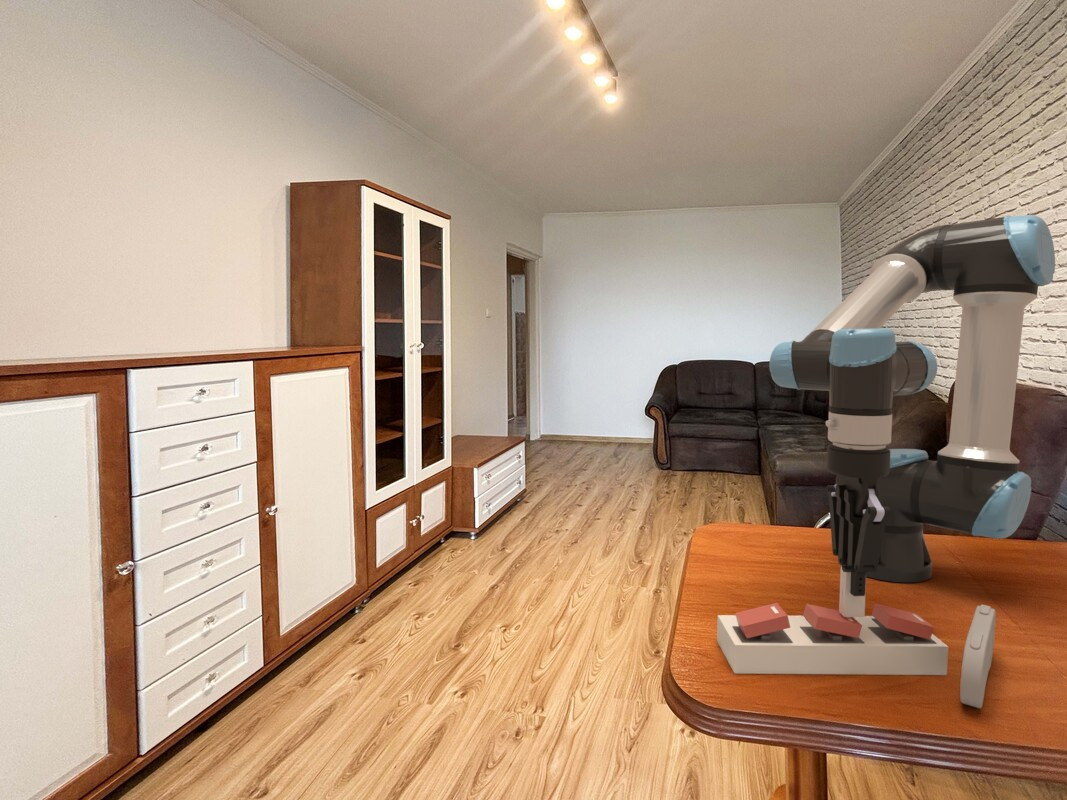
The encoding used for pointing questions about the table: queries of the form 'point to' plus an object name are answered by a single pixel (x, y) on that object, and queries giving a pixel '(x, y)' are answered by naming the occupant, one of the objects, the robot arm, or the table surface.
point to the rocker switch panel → (830, 650)
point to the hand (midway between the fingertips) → (851, 614)
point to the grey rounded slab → (977, 656)
